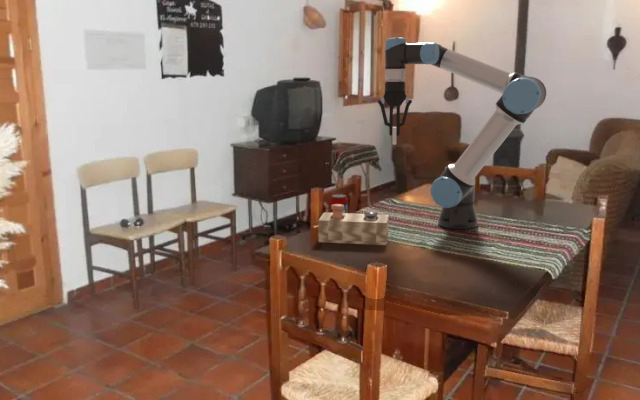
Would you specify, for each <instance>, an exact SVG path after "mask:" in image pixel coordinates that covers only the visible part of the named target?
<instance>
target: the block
mask: <svg viewBox="0 0 640 400" xmlns="http://www.w3.org/2000/svg"><path fill="white" fill-rule="evenodd" d="M389 217H390V216H389V214H380V213H379V214H378V213H377V217H376V220H366V217H365V216H364V213H351V212H350V213H343V217H342V219H335V218H333V213H330V211H329V212H326V211H325V212H323V213H322V215H321V216H320V217H319V219H318V228H317V229H318V243H329V244H330V243H333V244H350V245H351V244H352V245H353V244H354V245H372V246H373V245H374V246H387V243H388V238H389V220H390V219H389Z"/></svg>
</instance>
